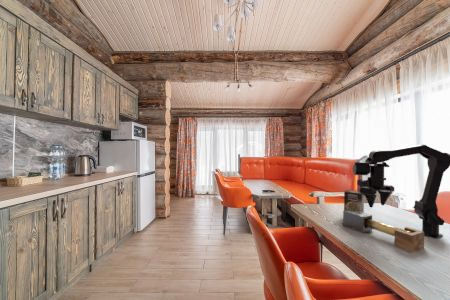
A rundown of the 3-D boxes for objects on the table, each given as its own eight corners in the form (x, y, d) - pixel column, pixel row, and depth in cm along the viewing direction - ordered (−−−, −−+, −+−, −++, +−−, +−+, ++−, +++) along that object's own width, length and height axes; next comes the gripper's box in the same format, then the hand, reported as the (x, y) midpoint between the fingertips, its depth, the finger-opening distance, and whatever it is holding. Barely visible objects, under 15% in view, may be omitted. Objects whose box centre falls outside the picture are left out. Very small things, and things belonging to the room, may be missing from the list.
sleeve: (351, 223, 114) (351, 209, 114) (372, 230, 104) (372, 215, 104) (343, 225, 111) (343, 210, 111) (363, 233, 101) (363, 217, 101)
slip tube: (365, 224, 106) (365, 216, 106) (413, 241, 87) (413, 231, 87) (359, 225, 104) (359, 217, 104) (407, 242, 86) (407, 232, 86)
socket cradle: (406, 242, 91) (406, 226, 91) (424, 248, 86) (424, 231, 86) (394, 246, 88) (394, 230, 88) (411, 252, 82) (411, 235, 82)
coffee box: (343, 218, 121) (343, 191, 121) (346, 215, 126) (346, 189, 126) (361, 222, 115) (362, 193, 115) (364, 219, 120) (364, 191, 120)
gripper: (372, 172, 116) (372, 200, 116) (349, 174, 109) (349, 204, 109) (395, 175, 106) (394, 205, 106) (371, 177, 98) (371, 210, 99)
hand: (376, 206), depth 105 cm, fingers open, 9 cm apart
